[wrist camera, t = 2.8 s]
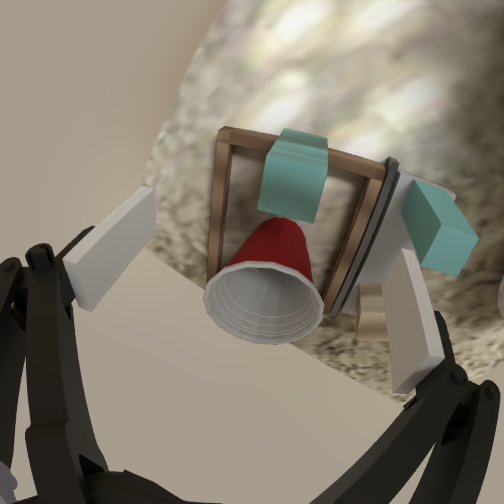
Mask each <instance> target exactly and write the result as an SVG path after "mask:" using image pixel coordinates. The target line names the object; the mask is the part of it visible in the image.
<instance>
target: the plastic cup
mask: <svg viewBox="0 0 504 504" xmlns="http://www.w3.org/2000/svg"><path fill="white" fill-rule="evenodd" d="M203 299H204V303H205V306H206V310H207V313H208V314H209V315H210V317H211V318H212V319H213V320H214V321H215V323H216V324H217V325H218V326H219V327H220V328H222V329H223V330H225V331H227V332H228V333H230V334H232V335H233V336H235V337H237V338H240V339H244V340H247V341H250V342H253V343H260V344H274V345H277V344H282V343H289V342H294V341H297V340H299V339H301V338H303V337H305V336H307V335H309V334H311V333H312V332H313V331H314V330H315V328H316V327H317V326H318V325H319V324H320V322H321V321H322V317H323V310H324V303H323V301H322V299H321V296H320V294H319V292H318V290H317V288H316V286H315V285H314V282H313V280H312V274H311V267H310V261H309V255H308V251H307V247H306V239H305V237H304V234H303V232H302V230H301V228H300V227H299V226H298V225H297V224H296V223H295V222H293V221H291V220H289V219H286V218H278V217H275V218H272V219H268V220H266V221H265V222H263V223H262V224H261V225H260V226H259V227H258V228H257V229H256V230H255V231H254V233H253V234H252V235H251V236H250V237H249V238H248V239H247V240H246V241H245V243H244V244H243V245H242V246H241V248H240V249H239V250H238V252H237V253H236V254H235V255H234V257H233V258H232V259H231V261H230V262H229V263H228V264H226V266H225V267H224V268H223V269H222V270H221V271H220V272H219V273H217V274H216V275H215V276H214V277H213V278H212V279H210V281H209V282H208V283H207V287H206V290H205V293H204V297H203Z"/></svg>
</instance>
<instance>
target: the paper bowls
mask: <svg viewBox="0 0 504 504" xmlns="http://www.w3.org/2000/svg"><path fill="white" fill-rule="evenodd" d="M497 302H498V307H499V310H500V312H501V315H502V317H503V320H504V276H503V278H502V280H501V282H500V285H499V289H498V294H497Z"/></svg>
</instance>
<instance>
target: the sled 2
mask: <svg viewBox="0 0 504 504" xmlns="http://www.w3.org/2000/svg"><path fill="white" fill-rule="evenodd" d="M455 198H456V194H455V193H454V192H453V191H452V190H449V189H447V188H444V187H442V186H439V185H437V184H434V183H432V182H429V181H427V180H424V179H421V178H419V177H416V176H413V175H411V174H408V173H405V172H402V171H399V170H398V172H397V175H396V178H395V181H394V184H393V186H392V189H391V192H390V194H389V197H388V200H387V202H386V205H385V208H384V210H383V213H382V215H381V218H380V220H379V223H378V225H377V228H376V230H375V233H374V235H373V237H372V240H371V242H370V244H369V247H368V249H367V251H366V254H365V256H364V258H363V260H362V263H361V265H360V267H359V269H358V271H357V274H356V276H355V278H354V280H353V282H352V284H351V286H350V289H349V291H348V293H347V295H346V297H345V299H344V301H343V303H342V305H341V313H344V314H348V315H353V316H355V308H356V302H357V296H358V289H359V282H366V283H384V281H385V279H386V278H387V276H388V274H389V272H390V270H391V268H392V266H393V264H394V262H395V260H396V258H397V256H398V254H399V252H400V250H401V248H404V249H407V250H411V251H414V253H415V256H416V259H417V261H418V264H419V267H420V268H421V266H423V267H427V268H430V269H433V270H437V271H440V272H443V273H447V274H450V275H453V276H458V274H459V272H460V271H461V269H462V268H463V266H464V264H465V263H466V261H467V259H468V258H469V256H470V254H471V252H472V251H473V249H474V247H475V245H476V243H477V242H478V240H479V237H478V236H477V234H476V233H475V231H474V230H473V228H472V227H471V225H470V224H469V222H468V221H467V219H466V218H465V217H464V215H463V214H462V212H461V211H460V210H459V208H458V207H457V205H456V204H455V203H454V200H455Z"/></svg>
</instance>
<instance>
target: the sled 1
mask: <svg viewBox="0 0 504 504" xmlns="http://www.w3.org/2000/svg"><path fill="white" fill-rule="evenodd" d="M234 145H238V146H244V147H249V148H254V149H259V150H264V151H268V152H269V153H268V154H267V156H266V160H265V166H264V172H263V178H262V184H261V190H260V196H259V202H258V207H257V210H261V211H265V212H269V213H273V214H277V215H281V216H285V217H289V218H293V219H297V220H301V221H305V222H309V223H314V219H315V216H316V212H317V209H318V205H319V202H320V198H321V194H322V191H323V187H324V184H325V180H326V176H327V172H328V166H331V167H334V168H338V169H342V170H345V171H349V172H352V173H356V174H359V175H362V176H366V180H365V184H364V187H363V190H362V193H361V196H360V198H359V201H358V204H357V207H356V210H355V213H354V216H353V219H352V221H351V224H350V227H349V230H348V232H347V235H346V238H345V240H344V243H343V246H342V248H341V251H340V254H339V256H338V259H337V261H336V264H335V266H334V269H333V271H332V274H331V276H330V279H329V281H328V284H327V286H326V289H325V291H324V293H323V296H321V299H322V301H323V303H324V310H323V314H325V315H328V313H329V311H330V308H331V306H332V304H333V302H334V300H335V298H336V296H337V293H338V291H339V289H340V287H341V285H342V282H343V280H344V278H345V276H346V273H347V271H348V269H349V266H350V264H351V262H352V259H353V257H354V255H355V252H356V250H357V247H358V245H359V243H360V240H361V238H362V235H363V233H364V230H365V228H366V225H367V222H368V220H369V217H370V215H371V212H372V209H373V207H374V204H375V201H376V198H377V196H378V193H379V190H380V187H381V184H382V181H383V179H384V176H385V173H386V169H385V167H384V165H383V164H381V163H378V162H375V161H372V160H369V159H365V158H362V157H359V156H355V155H352V154H349V153H345V152H341V151H338V150H334V149H331V148H328V144H327V138H324V137H320V136H316V135H312V134H308V133H304V132H299V131H295V130H290V129H286V128H284V130H283V131H282V133H281V134H280V136H276V135H271V134H266V133H261V132H256V131H250V130H245V129H239V128H233V127H227V126H224V127H223V128H221V129H220V130H218V138H217V148H216V158H215V169H214V181H213V193H212V205H211V219H210V234H209V250H208V267H207V283H208V282H209V281H210V279H212V278H213V277H214V276H215V275H216V274H217V273H219V272H220V271H221V270H220V269H221V259H222V248H223V238H224V228H225V218H226V209H227V199H228V190H229V181H230V173H231V164H232V156H233V147H234Z"/></svg>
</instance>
